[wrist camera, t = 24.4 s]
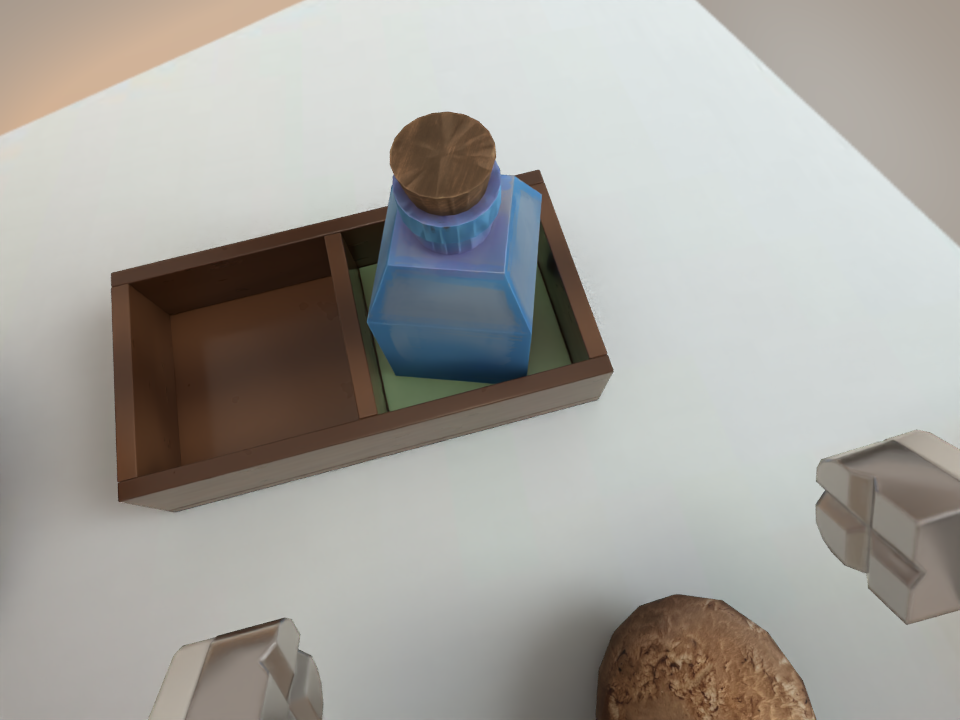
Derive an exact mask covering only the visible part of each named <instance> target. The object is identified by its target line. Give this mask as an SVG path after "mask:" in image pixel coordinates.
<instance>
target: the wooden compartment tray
mask: <svg viewBox="0 0 960 720" xmlns="http://www.w3.org/2000/svg"><path fill="white" fill-rule="evenodd" d="M514 176H515V177H517V178H518V179H520V180H521V181H523V182H524V183H525V184H527V185H528V186H530V187H531V188H533V189H534V190H536V191H537V192H539V193H540V194H542V200H541V214H540V227H539V241H538V255H537V268H536V282H535V295H534V309H533V323H532V336H531V344H530V353H529V362H528V370H527V376H524V377H520V378H516V379H512V380H508V381H505V382H501V383H497V384H491V383H479V382H467V381H455V380H443V379H430V378H418V377H406V376H396V375H395V373H394V371H393V369H392V368H391V366H390V364H389V362H388V360H387V358H386V357H385V355H384V353H383V351H382V349H381V348H380V346H379V344H378V342H377V340H376V338H375V337H374V335H373V333H372V331H371V329H370V328H369V326H368V324H367V318H368V312H369V307H370V302H371V296H372V291H373V285H374V280H375V274H376V269H377V263H378V258H379V252H380V247H381V242H382V236H383V231H384V225H385V220H386V214H387V209H388V206H386V207H382V208H378V209H374V210H370V211H366V212H361V213H357V214H353V215H349V216H345V217H341V218H337V219H333V220H328V221H324V222H320V223H316V224H312V225H308V226H304V227H299V228H295V229H291V230H287V231H283V232H279V233H275V234H270V235H266V236H262V237H258V238H254V239H250V240H246V241H242V242H237V243H233V244H229V245H225V246H221V247H217V248H213V249H208V250H204V251H200V252H196V253H192V254H188V255H184V256H179V257H175V258H171V259H167V260H163V261H159V262H155V263H151V264H146V265H142V266H138V267H134V268H130V269H126V270H122V271H117V272H113V273H111V286H112V288H111V301H112V332H113V362H114V392H115V422H116V452H117V481H118V482H119V483H118V501H119V502H122V503H128V504H133V505H139V506H144V507H150V508H155V509H160V510H166V511H171V512H177V511H181V510H185V509H188V508H192V507H196V506H200V505H204V504H207V503H211V502H215V501H219V500H222V499H226V498H230V497H234V496H237V495H241V494H245V493H249V492H252V491H256V490H260V489H264V488H267V487H271V486H275V485H279V484H282V483H286V482H290V481H294V480H297V479H301V478H305V477H309V476H313V475H316V474H320V473H324V472H328V471H331V470H335V469H339V468H343V467H346V466H350V465H354V464H358V463H361V462H365V461H369V460H373V459H376V458H380V457H384V456H388V455H391V454H395V453H399V452H403V451H406V450H410V449H414V448H418V447H421V446H425V445H429V444H433V443H437V442H440V441H444V440H448V439H452V438H455V437H459V436H463V435H467V434H470V433H474V432H478V431H482V430H485V429H489V428H493V427H497V426H500V425H504V424H508V423H512V422H515V421H519V420H523V419H527V418H530V417H534V416H538V415H542V414H545V413H549V412H553V411H557V410H561V409H564V408H568V407H572V406H576V405H579V404H583V403H587V402H591V401H594V400H598V399H599V397H600V395H601V393H602V392H603V390H604V388H605V386H606V384H607V382H608V381H609V379H610V377H611V375H612V373H613V368H612V365H611V362H610V359H609V357H608V355H607V351H606V348H605V346H604V343H603V340H602V338H601V335H600V332H599V329H598V327H597V324H596V321H595V319H594V316H593V313H592V310H591V308H590V305H589V302H588V300H587V297H586V294H585V291H584V289H583V286H582V283H581V281H580V278H579V275H578V272H577V270H576V267H575V264H574V262H573V259H572V256H571V253H570V251H569V248H568V245H567V243H566V240H565V237H564V234H563V232H562V229H561V226H560V224H559V221H558V218H557V215H556V213H555V210H554V207H553V204H552V202H551V199H550V196H549V194H548V191H547V188H546V185H545V183H544V180H543V178H542V175H541V172H540V170H535V171H531V172H527V173H523V174H519V175H514Z"/></svg>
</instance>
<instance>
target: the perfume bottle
mask: <svg viewBox="0 0 960 720" xmlns="http://www.w3.org/2000/svg"><path fill="white" fill-rule="evenodd" d="M495 159H496V150H495V142H494V140H493V138H492V136H491V134H490V132H489V131H488V130H487V129H486V128H485V127H484V126H483V125H482V124H481V123H480V122H479V121H477V120H475V119H473V118H471V117H469V116H467V115H464V114H459V113H453V112H440V113H431V114H428V115H425V116H422V117H419V118H417V119H415V120H414V121H412V122H411V123H409V124H408V125H406V126H405V127H404V128H403V129H402V130H401V131H400V133H399V134H398V135H397V136H396V137H395V139H394V142H393V144H392V147H391V149H390V166H391V168H392V171H393V173H394V175H393V185H392V187H391V193H390V198H389V203H388V209H387V214H386V220H385V225H384V231H383V236H382V242H381V247H380V252H379V258H378V263H377V269H376V274H375V280H374V285H373V291H372V296H371V302H370V307H369V312H368V318H367V324H368V326H369V328H370V329H371V331H372V333H373V335H374V337H375V338H376V340H377V342H378V344H379V346H380V348H381V349H382V351H383V353H384V355H385V357H386V358H387V360H388V362H389V364H390V366H391V368H392V369H393V371H394V373H395V375H396V376H406V377H418V378H430V379H443V380H455V381H467V382H479V383H491V384H497V383H501V382H505V381H508V380H512V379H516V378H520V377H524V376H527V370H528V362H529V353H530V344H531V336H532V323H533V309H534V295H535V282H536V268H537V255H538V241H539V227H540V214H541V200H542V194H540V193H539V192H537V191H536V190H534V189H533V188H531V187H530V186H528V185H527V184H525V183H524V182H523V181H521V180H520V179H518V178H517V177H515V176H514V175H500V169H499V167H498V165H497V163H496V161H495Z"/></svg>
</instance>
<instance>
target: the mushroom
mask: <svg viewBox="0 0 960 720" xmlns="http://www.w3.org/2000/svg"><path fill="white" fill-rule="evenodd" d="M596 720H816V717H815V714H814V711H813V709H812V706H811V703H810V700H809V697H808V694H807V691H806V688H805V685H804V683H803V680H802V679H801V678H800V676H799V675H798V673H797V672H796V671H795V669H794V668H793V666H792V665H791V664H790V662H789V661H788V660H787V658H786V657H785V655H784V654H783V653H782V651H781V650H780V648H779V647H778V646H777V644H776V643H775V642H774V640H773V639H772V637H771V636H770V635H769V633H768V632H766V631H765V630H764V629H762V628H761V627H759V626H758V625H756V624H755V623H754V622H752V621H751V620H749V619H748V618H747V617H745V616H744V615H742V614H741V613H739V612H738V611H737V610H735V609H734V608H732V607H731V606H730V605H728V604H727V603H725V602H724V601H722V600H716V599H709V598H702V597H694V596H687V595H680V594H676V595H671V596H668V597H665V598H662V599H659V600H656V601H653V602H650V603H647V604H644V605H641V606H639V607H638V608H637V609H636V610H635V611H634V612H633V613H632V614H631V615H630V616H629V617H628V618H627V619H626V620H625V621H624V622H623V623H622V624H621V625H620V626H619V627H618V628H617V629H616V630H615V631H614V633H613V635H612V637H611V639H610V642H609V645H608V647H607V650H606V653H605V655H604V658H603V660H602V663H601V666H600V668H599V673H598V688H597V703H596Z"/></svg>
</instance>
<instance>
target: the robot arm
mask: <svg viewBox="0 0 960 720" xmlns="http://www.w3.org/2000/svg"><path fill="white" fill-rule="evenodd" d="M816 482H817V483H818V484H819V485H820V486H821V487H823V488H824V489H825V491H824V493H823V494H822V496H821V497H820V499H819V500H818V502H817V503H816V523H817V526H818V529H819V531H820V534H821V536H822V539H823V541H824V542H825V543H826V545H827V546H828V548H829V549H830V551H831V552H832V553H833V554H834V555H835V556H836V557H837V558H838V559H839V560H840V561H841V562H842V563H843V564H844V565H845V566H848V567H850V568H853V569H855V570H858V571H861V572H863V573H866V576H867V583H868V589H870V590H871V591H872V592H873V593H874V594H875V595H876V596H877V597H878V598H879V599H880V600H881V601H882V602H883V603H884V604H885V605H886V606H887V607H888V608H889V609H890V610H891V611H892V612H894V613H895V614H896V615H897V616H898V617H899V618H900V619H901V620H902V621H903V622H904V623H905V624H906V625H908V624H912V623H915V622H919V621H923V620H926V619H930V618H933V617H937V616H940V615H944V614H948V613H951V612H955V611H958V610H960V449H958V448H956V447H955V446H953V445H951V444H949V443H948V442H946V441H944V440H942V439H940V438H939V437H937V436H935V435H933V434H932V433H930V432H926V431H921V430H914V431H911V432H907V433H904V434H901V435H898V436H895V437H891V438H888V439H885V440H884V441H880V442H876V443H873V444H870V445H866V446H863V447H860V448H856V449H853V450H850V451H847V452H843V453H840V454H837V455H833V456H830V457H827V458H824V459H821V461H820V463H819V465H818V466H817V472H816ZM299 640H300V633H299V631H298V630H297V628H296V626H295V624H294V623H293V621H292V619H289V618H282V619H278V620H275V621H271V622H267V623H263V624H260V625H256V626H252V627H248V628H245V629H241V630H237V631H234V632H230V633H226V634H222V635H219V636H217V637H215V638H211V639H207V640H203V641H200V642H196V643H192V644H188V645H184V646H182V647H181V648H180V649H179V650H178V651H177V652H176V653H175V654H174V656H173V658H172V661H171V663H170V666H169V668H168V671H167V673H166V676H165V678H164V681H163V683H162V686H161V688H160V691H159V693H158V696H157V698H156V701H155V703H154V706H153V708H152V711H151V714H150V716H149V719H148V720H322V715H323V695H322V684H321V679H320V676H319V672H318V669H317V666H316V664H315V662H314V660H313V658H312V656H311V655H309V654H307V653H305V652H303V651H301V650H298V647H299Z"/></svg>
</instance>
